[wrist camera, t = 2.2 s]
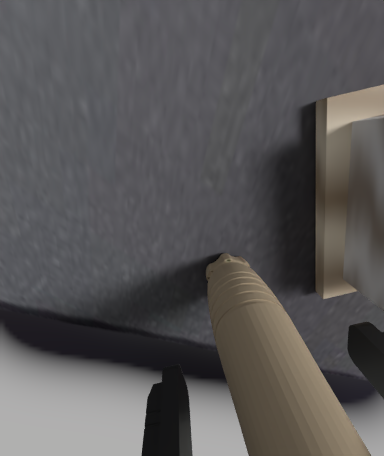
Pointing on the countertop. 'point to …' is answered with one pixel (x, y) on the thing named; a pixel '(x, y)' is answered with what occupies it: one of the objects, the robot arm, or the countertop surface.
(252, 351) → the handle
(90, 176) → the countertop surface
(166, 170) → the countertop surface
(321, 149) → the small square bin
